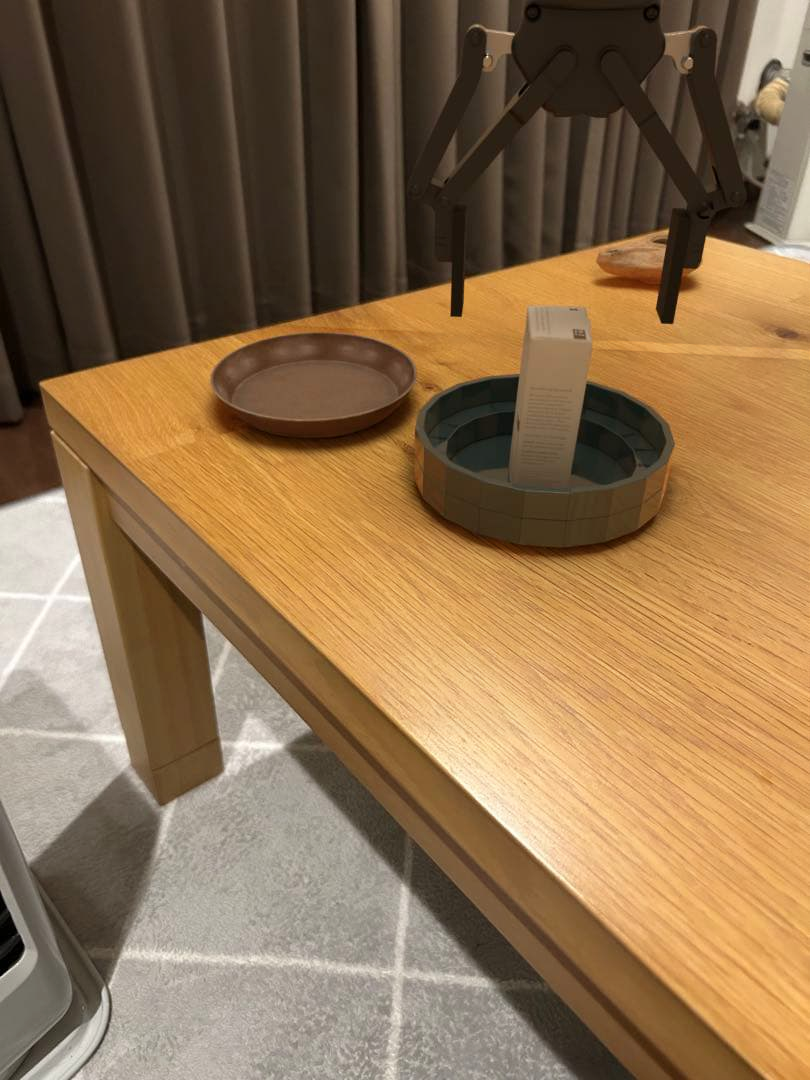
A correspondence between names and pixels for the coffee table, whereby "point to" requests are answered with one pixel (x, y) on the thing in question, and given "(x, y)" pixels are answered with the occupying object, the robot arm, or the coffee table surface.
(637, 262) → the pottery oil lamp
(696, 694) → the coffee table surface
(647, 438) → the bowl
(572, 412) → the cosmetic box
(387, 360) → the plant saucer
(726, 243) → the coffee table surface
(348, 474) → the coffee table surface
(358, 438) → the coffee table surface
